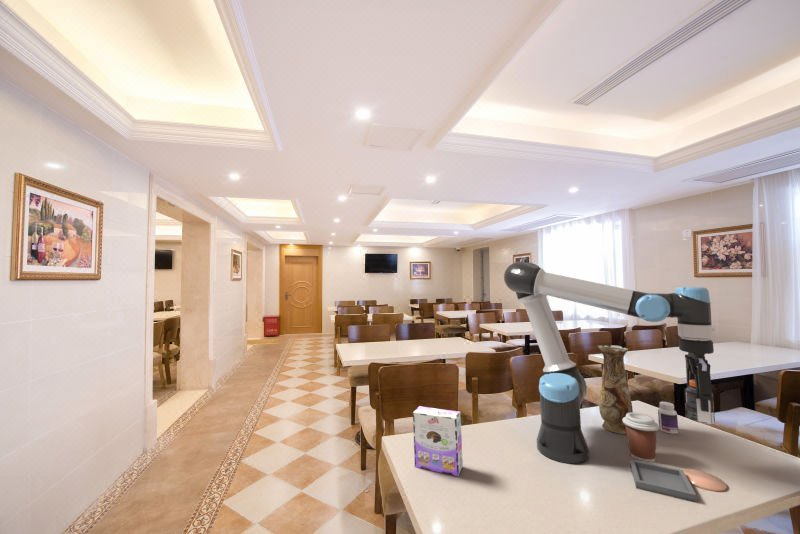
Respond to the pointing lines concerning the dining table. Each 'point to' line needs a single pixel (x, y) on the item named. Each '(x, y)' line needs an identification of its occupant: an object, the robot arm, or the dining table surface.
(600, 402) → the vase
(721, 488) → the peach flat disc
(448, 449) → the candy box
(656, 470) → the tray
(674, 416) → the pill bottle
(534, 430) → the dining table surface
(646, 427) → the coffee cup
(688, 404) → the pill bottle
